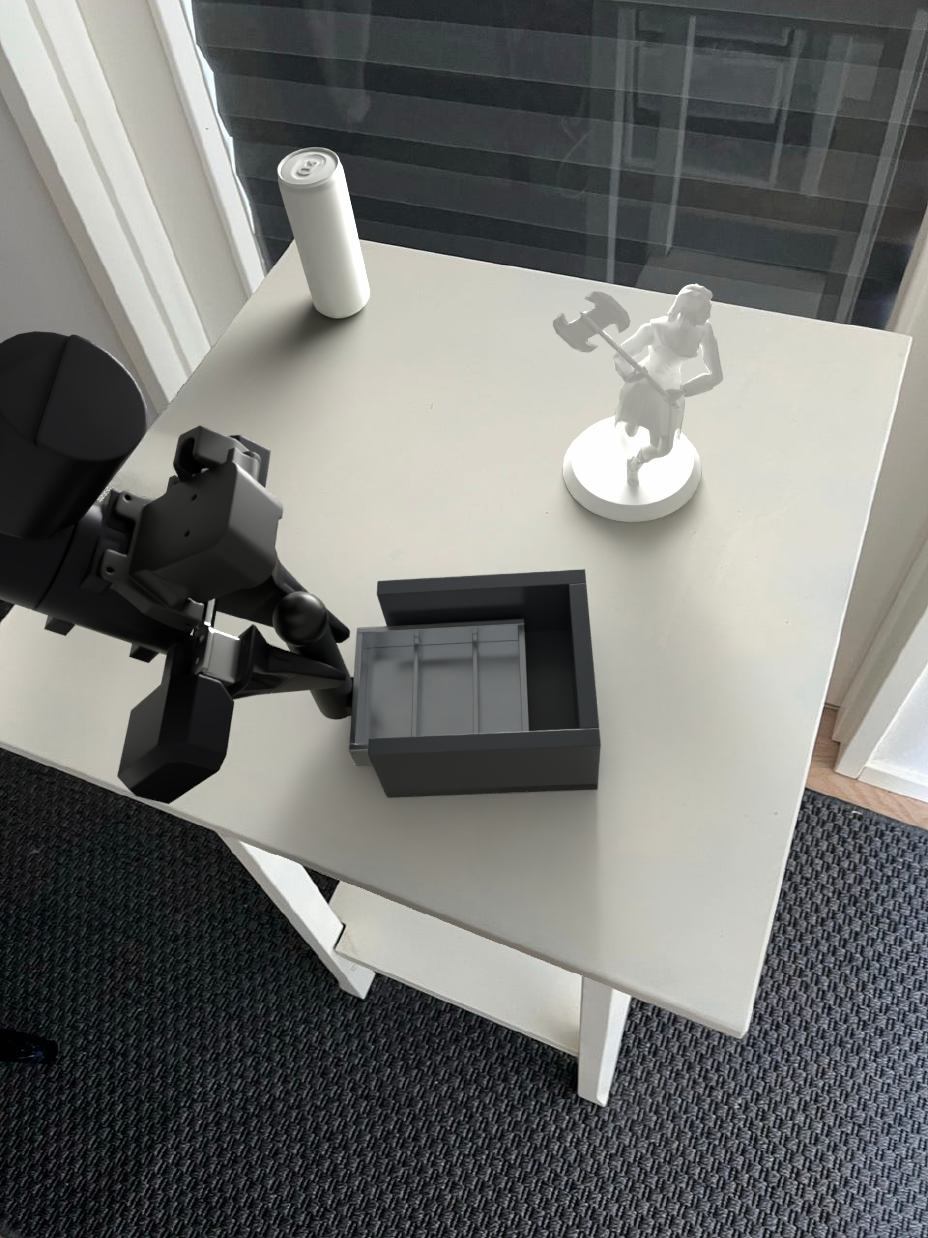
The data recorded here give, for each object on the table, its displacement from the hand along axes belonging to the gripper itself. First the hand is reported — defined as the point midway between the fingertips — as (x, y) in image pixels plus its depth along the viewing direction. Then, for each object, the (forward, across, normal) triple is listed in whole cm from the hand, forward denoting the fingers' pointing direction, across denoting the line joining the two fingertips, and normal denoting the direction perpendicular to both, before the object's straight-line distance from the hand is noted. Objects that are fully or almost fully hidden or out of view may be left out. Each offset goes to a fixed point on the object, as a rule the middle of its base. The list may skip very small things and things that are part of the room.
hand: (344, 659), depth 51 cm
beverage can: (+2, +38, +8) cm, 39 cm away
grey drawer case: (+10, 0, -1) cm, 10 cm away
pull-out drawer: (+6, 0, +1) cm, 6 cm away
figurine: (+17, +18, -8) cm, 26 cm away
